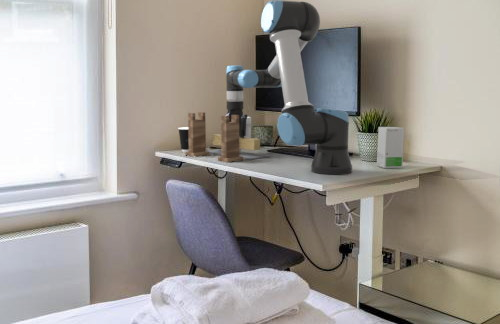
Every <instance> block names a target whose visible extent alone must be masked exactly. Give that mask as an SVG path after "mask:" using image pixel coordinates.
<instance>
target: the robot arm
mask: <svg viewBox="0 0 500 324" xmlns="http://www.w3.org/2000/svg"><path fill="white" fill-rule="evenodd" d="M260 26H261V29H262V31H263V32H264V33H265V34H269V40H270V42H272V43H273V44H274V46H275V47H274V48H275V53H276V55H275V56H274V58H273V59H272V61H271V62H270V64H269V66H268V67H267V68H266V69H244V67H243V66H242V65H227V67H226V72H225V75H226V79H225V80H226V100H227V101H226V110H227V113H226V115H225V116H229V122H231V115H239V137H244V136H246V119H247V117H248V114H245V113H244V111H243V110H244V89H251V88H258V89H259V88H260V89H261V88H274V89H275V88H281V89H282V96H283V97H282V98H283V103H284V106H283V108H282V109H281V114H280V115H279V117H278V119H277V127H276V128H277V132H278V135H279V137H280V139H281V141H282V142H283V143H284V144H285V145H287V146H291V147H292V146H293V147H294V146H296V147H300V146H301V147H302V146H310V145H315V153H314V156H313V159H312V161H311V162H312V163H311V166H310V167H311V168H310V169H311V170H310V172H313V173H316V174H321V175H347V174H351V173H352V172H353V164H352V161H351V157H350V154H349V125H350V121H349V113H348V112H347V111H345V110H339V109H330V108H323V107H322V108H321V107H318V108H317V109H316V111H315V107H314V104H312V103H311V102H309V97H308V90H307V85H306V80H305V78H306V77H305V73H304V68H303V67H304V66H303V62H302V55H301V52H302V51H303V49H304V48H305V46H306V45H307V44H308V42H312V41H313V40H314V38H315V37H316V36H317V34H318V31H319V29H320V26H321V18H320V14H319V12H318V10H317V8H316V7H315V6H314V5H313V4H311V3H309V2H306V1H295V0H294V1H293V0H270V1H268V2H267V3H266V4H265V6H264V7H263V10H262V12H261V18H260ZM241 152H242V148H239V153H241Z"/></svg>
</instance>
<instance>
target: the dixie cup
mask: <svg viewBox="0 0 500 324" xmlns="http://www.w3.org/2000/svg"><path fill="white" fill-rule="evenodd" d="M177 129H178V136H179V142H180V149H181V152H183V153H185V152H189V135H188V126H185V127H183V126H182V127H177Z"/></svg>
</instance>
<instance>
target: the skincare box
mask: <svg viewBox="0 0 500 324" xmlns="http://www.w3.org/2000/svg"><path fill="white" fill-rule="evenodd" d="M377 128H378V129H377V132H378V133H377V152H376V153H377V154H376V166H377V167H379V168H381V169H382V168H383V169H402V168H403V167H404V165H403V164H404V162H403V161H404V147H405V146H404V142H405V127H397V126H378V127H377Z"/></svg>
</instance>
